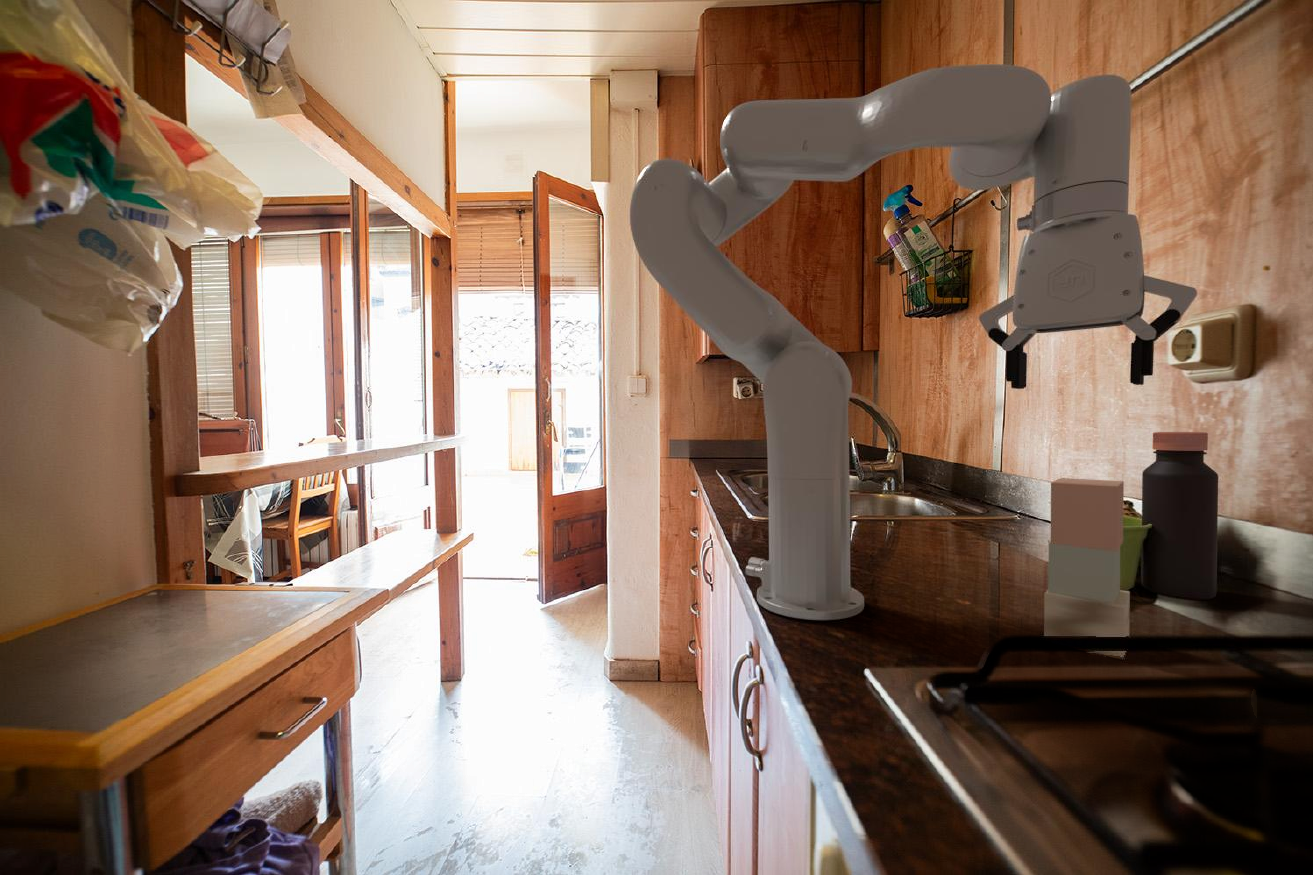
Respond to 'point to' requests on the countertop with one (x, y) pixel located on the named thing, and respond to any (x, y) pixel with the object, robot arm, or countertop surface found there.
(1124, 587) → the plant pot
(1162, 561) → the bottle
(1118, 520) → the block
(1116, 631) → the tower base
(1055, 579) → the tower top
